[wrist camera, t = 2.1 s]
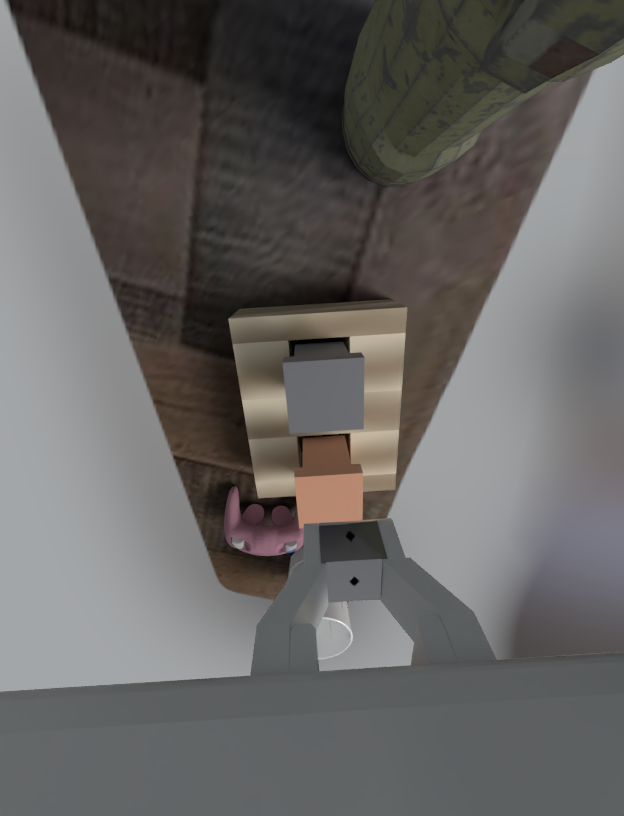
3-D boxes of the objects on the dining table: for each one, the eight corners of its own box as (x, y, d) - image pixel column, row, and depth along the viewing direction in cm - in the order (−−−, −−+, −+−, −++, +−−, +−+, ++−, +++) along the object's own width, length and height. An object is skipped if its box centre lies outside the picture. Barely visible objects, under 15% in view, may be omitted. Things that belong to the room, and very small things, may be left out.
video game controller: (231, 497, 41) (220, 556, 37) (227, 482, 38) (215, 545, 33) (308, 502, 42) (306, 560, 38) (311, 488, 38) (310, 550, 34)
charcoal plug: (287, 337, 26) (282, 362, 20) (350, 333, 26) (364, 357, 20) (292, 395, 29) (289, 433, 23) (350, 392, 29) (363, 429, 23)
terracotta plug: (295, 432, 30) (294, 477, 24) (350, 429, 30) (362, 473, 24) (299, 477, 33) (299, 528, 27) (351, 474, 33) (362, 524, 27)
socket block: (239, 308, 30) (228, 318, 25) (391, 299, 30) (407, 307, 25) (263, 468, 37) (258, 498, 33) (383, 461, 37) (394, 489, 33)
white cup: (342, 538, 43) (352, 615, 34) (342, 578, 46) (352, 657, 37) (282, 542, 43) (277, 620, 34) (287, 582, 46) (284, 662, 37)
